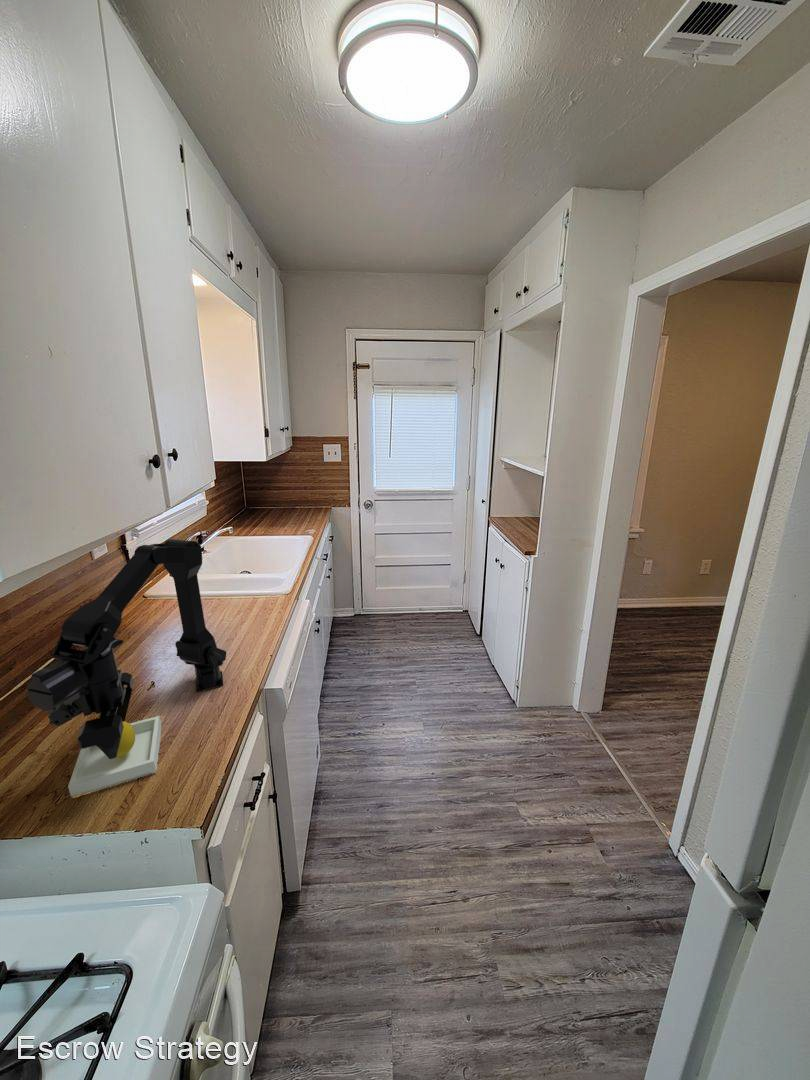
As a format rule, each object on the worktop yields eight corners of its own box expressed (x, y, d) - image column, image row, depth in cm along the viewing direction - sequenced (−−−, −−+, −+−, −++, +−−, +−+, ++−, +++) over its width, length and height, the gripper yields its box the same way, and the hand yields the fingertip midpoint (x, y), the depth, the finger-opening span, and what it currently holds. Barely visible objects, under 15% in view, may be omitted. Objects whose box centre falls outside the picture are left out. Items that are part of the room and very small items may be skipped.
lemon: (102, 756, 86) (96, 721, 84) (133, 743, 90) (128, 710, 88) (108, 770, 82) (102, 735, 80) (140, 756, 86) (135, 722, 84)
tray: (88, 746, 89) (85, 735, 88) (161, 726, 95) (159, 715, 94) (71, 799, 77) (68, 786, 76) (156, 773, 83) (153, 761, 82)
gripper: (61, 660, 85) (79, 723, 90) (29, 719, 69) (53, 793, 73) (126, 647, 89) (140, 708, 94) (110, 700, 73) (128, 770, 78)
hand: (117, 741), depth 85 cm, fingers open, 9 cm apart
